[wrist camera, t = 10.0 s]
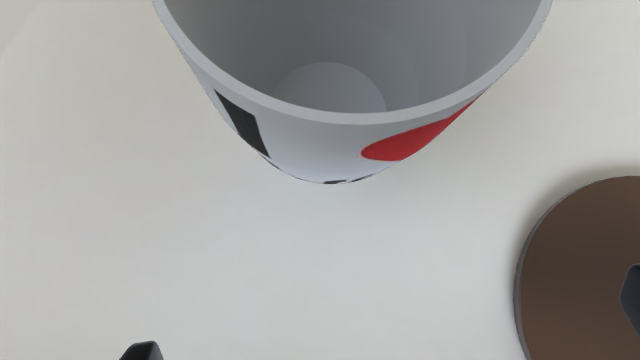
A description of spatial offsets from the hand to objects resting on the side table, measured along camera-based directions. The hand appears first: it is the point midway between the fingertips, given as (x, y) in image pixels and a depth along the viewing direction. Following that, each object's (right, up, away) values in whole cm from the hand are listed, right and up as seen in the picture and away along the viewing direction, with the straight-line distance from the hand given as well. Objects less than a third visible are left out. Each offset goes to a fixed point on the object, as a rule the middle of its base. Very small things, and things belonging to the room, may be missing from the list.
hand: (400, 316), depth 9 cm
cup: (-1, +5, +10) cm, 11 cm away
